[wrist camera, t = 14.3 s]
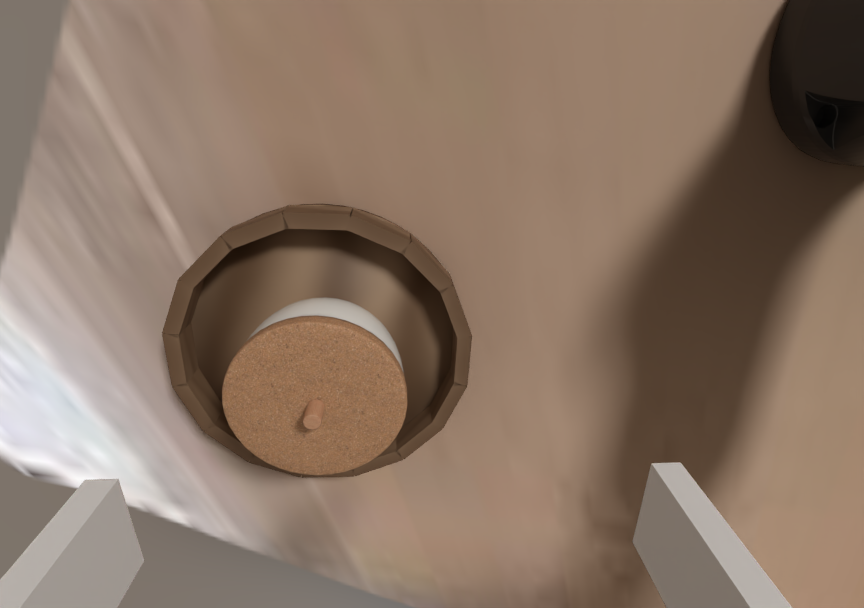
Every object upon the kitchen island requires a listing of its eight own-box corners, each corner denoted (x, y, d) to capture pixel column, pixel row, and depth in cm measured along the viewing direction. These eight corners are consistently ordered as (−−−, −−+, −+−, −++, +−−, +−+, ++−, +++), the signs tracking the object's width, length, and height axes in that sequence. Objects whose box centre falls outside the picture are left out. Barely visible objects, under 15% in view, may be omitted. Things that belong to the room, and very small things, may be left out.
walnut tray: (475, 209, 33) (482, 218, 30) (454, 449, 41) (458, 474, 38) (161, 198, 31) (138, 207, 28) (203, 452, 39) (189, 479, 36)
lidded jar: (375, 420, 38) (371, 513, 29) (239, 382, 35) (191, 471, 27) (425, 303, 34) (437, 371, 26) (278, 253, 32) (237, 308, 23)
